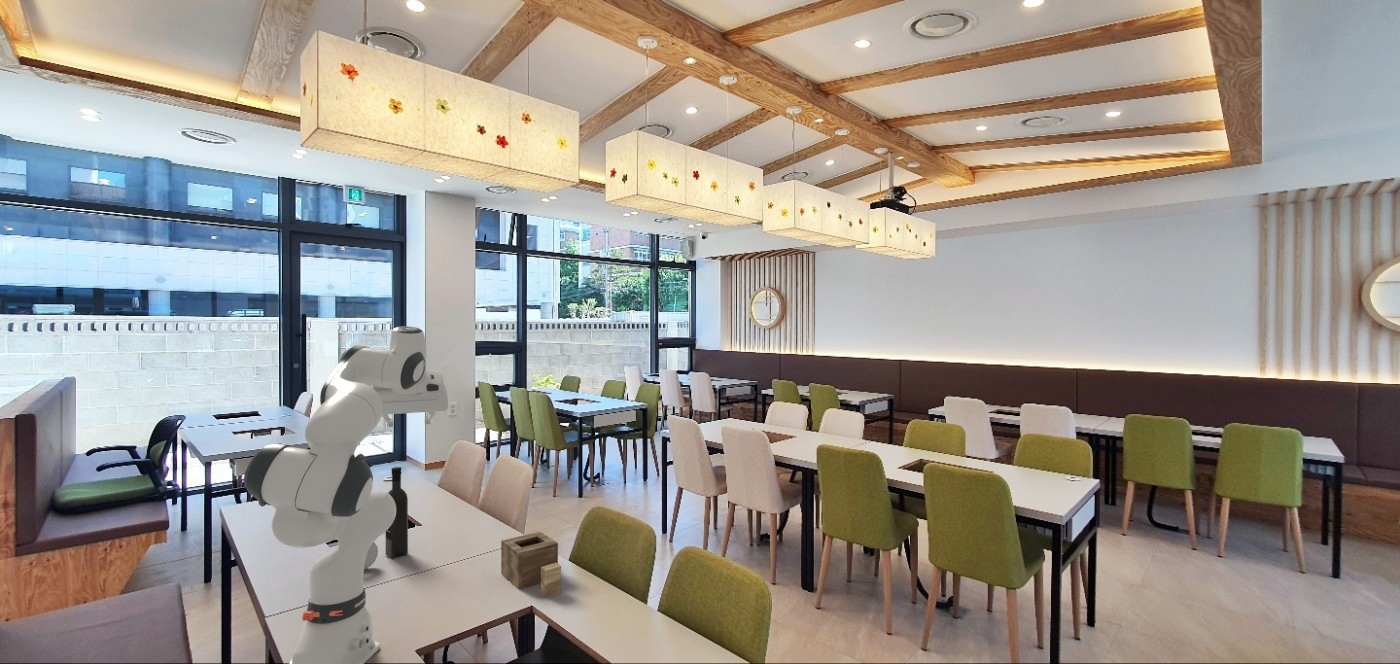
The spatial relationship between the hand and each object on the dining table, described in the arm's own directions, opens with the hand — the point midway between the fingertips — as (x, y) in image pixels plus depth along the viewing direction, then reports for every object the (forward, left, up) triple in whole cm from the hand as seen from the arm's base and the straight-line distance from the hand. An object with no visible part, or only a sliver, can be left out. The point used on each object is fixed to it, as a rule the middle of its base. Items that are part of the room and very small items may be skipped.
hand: (409, 424), depth 169 cm
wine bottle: (+39, +15, -52) cm, 67 cm away
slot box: (+14, -31, -51) cm, 62 cm away
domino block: (+1, -39, -52) cm, 65 cm away
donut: (+27, +22, -52) cm, 63 cm away
